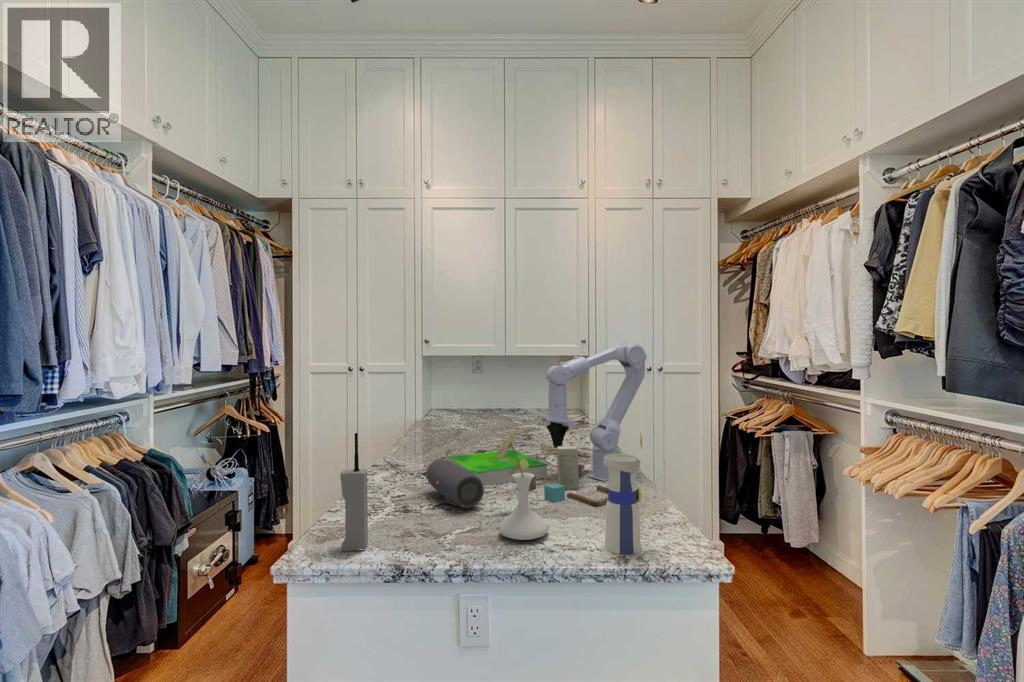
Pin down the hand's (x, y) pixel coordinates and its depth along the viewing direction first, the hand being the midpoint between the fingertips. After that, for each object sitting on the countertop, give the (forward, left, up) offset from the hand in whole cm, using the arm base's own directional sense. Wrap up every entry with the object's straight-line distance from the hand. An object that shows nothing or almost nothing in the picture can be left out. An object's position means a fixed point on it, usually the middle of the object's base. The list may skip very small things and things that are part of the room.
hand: (557, 447), depth 174 cm
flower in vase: (+38, +32, -11) cm, 51 cm away
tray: (+11, -19, -11) cm, 24 cm away
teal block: (+14, +15, -11) cm, 23 cm away
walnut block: (+14, +2, -11) cm, 18 cm away
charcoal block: (-7, -1, -11) cm, 13 cm away
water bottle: (+24, +50, -11) cm, 56 cm away
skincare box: (+3, +8, -11) cm, 14 cm away
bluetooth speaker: (+37, -1, -11) cm, 38 cm away
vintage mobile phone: (+71, +16, -11) cm, 73 cm away
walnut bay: (+3, +20, -10) cm, 23 cm away
